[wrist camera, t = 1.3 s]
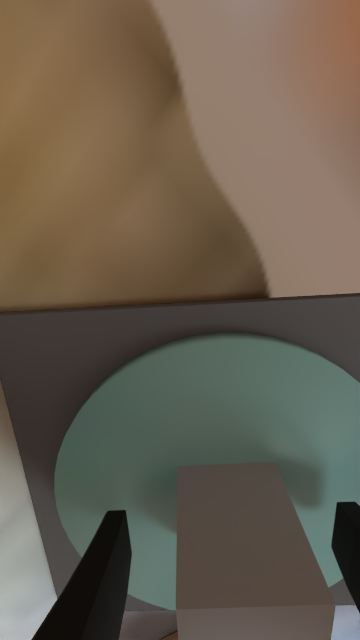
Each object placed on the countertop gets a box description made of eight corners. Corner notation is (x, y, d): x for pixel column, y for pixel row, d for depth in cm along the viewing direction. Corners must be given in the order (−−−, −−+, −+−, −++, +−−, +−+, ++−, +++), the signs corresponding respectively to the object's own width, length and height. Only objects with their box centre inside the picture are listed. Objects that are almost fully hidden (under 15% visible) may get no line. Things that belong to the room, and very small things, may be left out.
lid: (414, 322, 9) (650, 402, 5) (364, 588, 13) (469, 786, 8) (32, 342, 9) (-110, 438, 5) (89, 597, 13) (38, 794, 8)
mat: (452, 288, 9) (467, 290, 9) (386, 590, 13) (394, 603, 13) (-7, 312, 10) (-16, 316, 9) (65, 599, 14) (61, 612, 13)
